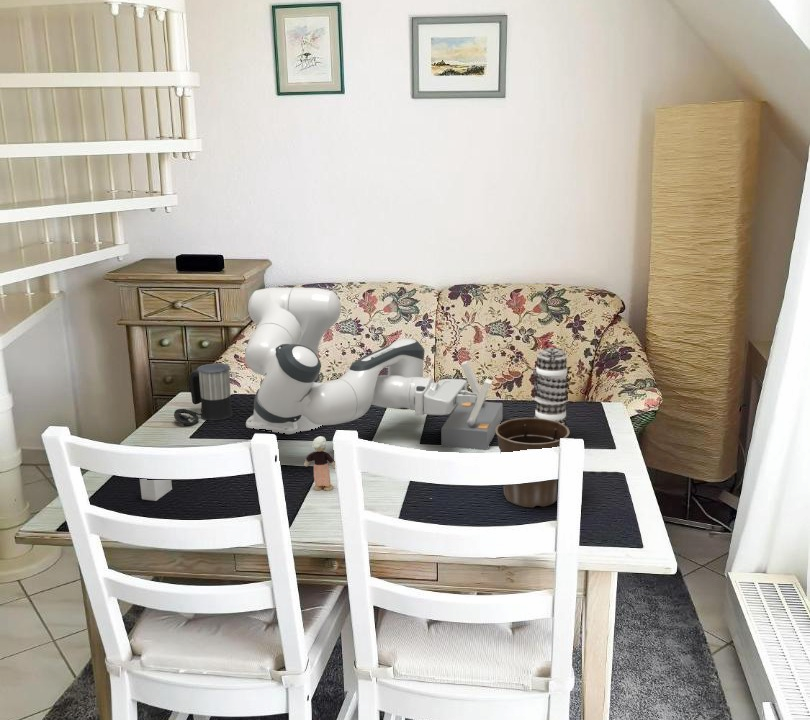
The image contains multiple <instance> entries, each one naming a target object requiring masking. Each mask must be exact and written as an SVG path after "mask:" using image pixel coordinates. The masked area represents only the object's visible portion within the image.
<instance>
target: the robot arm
mask: <svg viewBox="0 0 810 720" xmlns="http://www.w3.org/2000/svg"><path fill="white" fill-rule="evenodd" d="M247 311H248V315H249V317H250V319H251V320H252V322H254V324H255V325H256V327H255V329H254V330H253V333H252V334H251V336H250V338H249V340H248V342H247V345H246V348H245V350H244V351H245V352H244V361H245V364H246V366H247V367H248V368H249V369H250V370H251V371H252V372H254V373H255V374H258V375H260V376H263V377H264V378H263V380H262V381H261V384H260V387H259V388H258V389H257V390H256V392H255V395H254V399H253V414H252V415H250V417H248V418H247V419H246V422H245V426H246V428H248V429H253V428H254V429H255V430H259V429H266V430H272V432H271V433H278V432H279V433H278V434H283V433H285V434H284V435H294V434H297V433H300V431H301V432H307V431H311V429H313V430H315V428H316V429H319V428H321V427H323V426H333V425H339V424H340V425H341V424H345V423H349V422H352V421H356V420H357V419H359V418H361V417H363V416H364V415H365V414H366V413H368V411H369V410H370V408H371V405H372V406H377V407H381V408H386V409H395V410H411V411H415V412H414V414H415V416H419V417H421V416H425V415H430V416H446V415H451V414H452V412H453V411H454V409H455V408H456V407H457V405H458V404H463V403H469V402H470V403H475V402H476V400H477V398H478V394H477V393H473V392H471V391H468V380H467V379H466V380H465V379H461V378H445V379H443V378H442V379H439V380H438V381H437V382H435V379H434V378H433V377H428V376H427V377H424V361H425V360H424V359H425V348H424V347H423V346H422V344H421V343H420V342H419V341H418V340H417V339H414V338H401V339H400V338H399V339H397V340H394V341H392V342H391V343H389V344H388V345H387V346H385V347H383V348H380V349H378V350H375V351H373V352H371V353H369V354H367V355H365V356H363V357H361V358H359V359H357V360H355V361H354V362H352V363H351V365H350V366H349V369H347V370H346V372H345V373H344V374H343V375H342V376H340V377H339V378H338V379H334V380H329V381H326V382H321V381H320V380H321V377H320V373H321V368H322V362H321V360H320V358H319V355H318V354H319V352H318V351H319V346H320V343H321V340H322V338H323V337H324V335H325V333H326V332H328V330H329V329H330V328H332V327H333V326H334V325H336V323H337V322H338V321H339V318H340V316H341V312H342V303H341V301H340V299H339V297H338V295H337V293H336V292H334V291H332V290H330V289H324V288H319V287H274V286H273V287H272V286H271V287H267V288H261V289H257V290H254V291H253V292H252V294H251V295H250V297H249V300H248V303H247ZM385 368H387V374H383V375H382V374H380V373H381V371H382V370H383V369H385ZM322 425H323V426H322ZM320 426H321V427H320ZM318 427H319V428H318ZM254 429H253V430H254ZM296 432H297V433H296Z"/></svg>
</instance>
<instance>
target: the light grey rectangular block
mask: <svg viewBox="0 0 810 720" xmlns="http://www.w3.org/2000/svg"><path fill="white" fill-rule="evenodd" d="M139 485H140V494H141V499H142V500H146V501H153V502H154V501H155V502H157V501H158V500H159V499H161V498H163V496H165V495H166V494H167V493H169V492H171V490H173V486H172V479H171V480H147V479H140V478H139Z"/></svg>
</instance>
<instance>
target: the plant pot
mask: <svg viewBox="0 0 810 720" xmlns="http://www.w3.org/2000/svg"><path fill="white" fill-rule="evenodd" d="M495 435H496V436H497V443H498V445H497V446H498V449H499V451H500V453H501V452H513V451H520V450H527V449H542V448H552V447H557V446H559V439H560V438H567V439H568V438H569V436H570V429H569V427H568V426H565V425H563V424H561V423H559V422H556V421H553V420H548V419H541V418H534V417H520V418H513V419H508V420H505V421H502V422H501V424H499V425H498V426H497V427H496V429H495ZM503 496H504V497H505V499H506V501H508V502H509V503H510V504H514V505H515V506H519V507H524V508H532V509H533V508H536V506H539V507H541V508H544V507H548V506H551V505H553V504H555V503H556V502H557V501H558V499H557V480H551V481H545V482H537V483H527V484H518V485H506V486H503Z"/></svg>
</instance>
